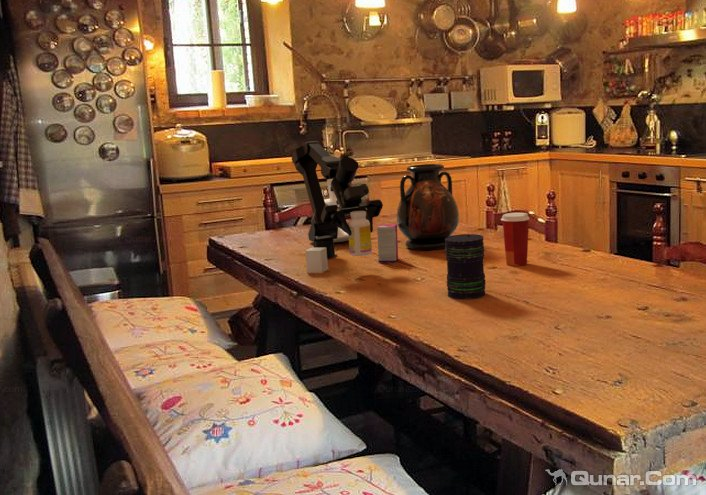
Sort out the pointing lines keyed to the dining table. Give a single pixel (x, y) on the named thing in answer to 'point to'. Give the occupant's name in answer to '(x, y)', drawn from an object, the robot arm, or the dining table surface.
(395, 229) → the supplement box
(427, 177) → the amphora vase
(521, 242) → the coffee cup
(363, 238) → the supplement bottle
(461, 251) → the storage jar
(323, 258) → the grey block
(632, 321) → the dining table surface
